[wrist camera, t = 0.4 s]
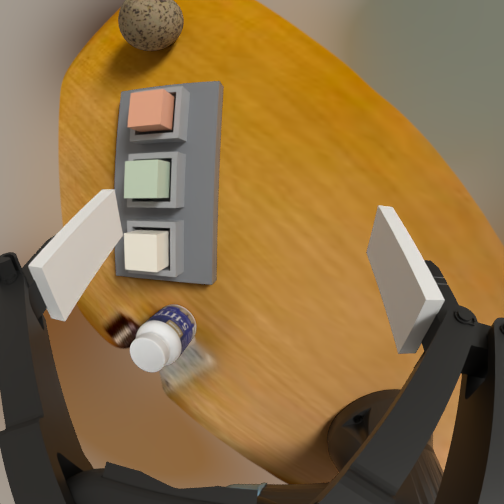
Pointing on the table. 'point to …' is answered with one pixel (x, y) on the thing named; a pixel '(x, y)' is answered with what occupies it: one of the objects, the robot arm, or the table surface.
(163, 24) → the decorative egg
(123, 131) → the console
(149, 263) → the cream button
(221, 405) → the table surface
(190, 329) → the pill bottle
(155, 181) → the sage button
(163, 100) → the terracotta button
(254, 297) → the table surface
